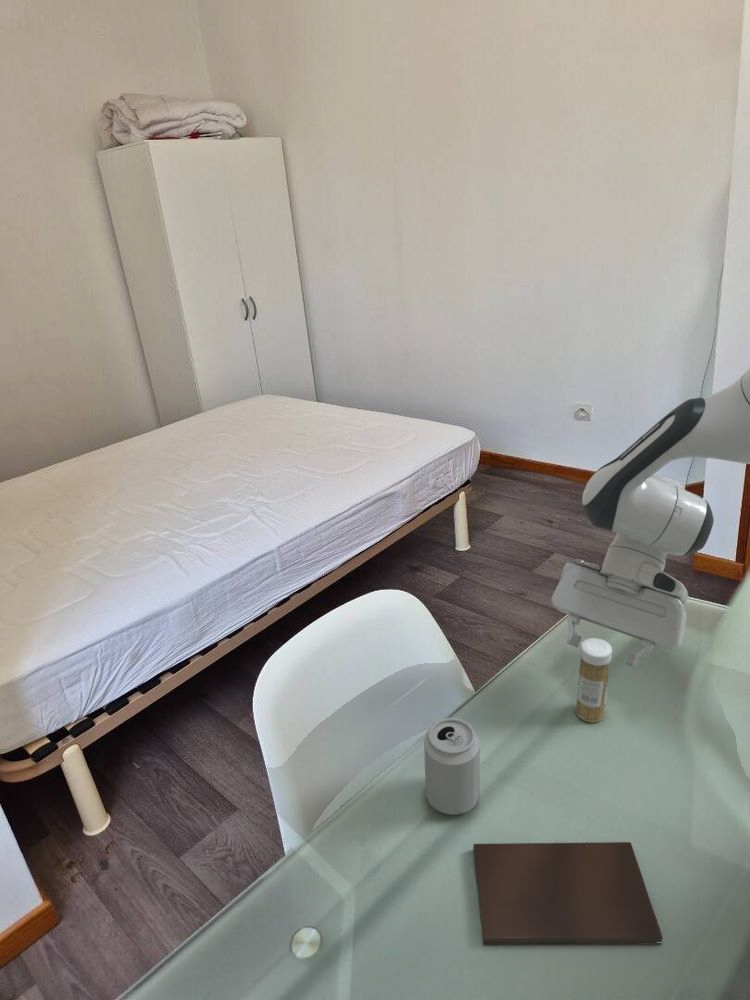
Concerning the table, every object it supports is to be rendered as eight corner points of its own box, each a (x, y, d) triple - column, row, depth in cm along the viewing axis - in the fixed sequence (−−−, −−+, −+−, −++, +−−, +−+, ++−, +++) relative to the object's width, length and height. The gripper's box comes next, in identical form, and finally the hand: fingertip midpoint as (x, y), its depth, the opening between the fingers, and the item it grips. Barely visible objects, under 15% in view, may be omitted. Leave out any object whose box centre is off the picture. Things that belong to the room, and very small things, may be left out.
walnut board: (629, 848, 88) (630, 841, 88) (661, 944, 77) (662, 937, 77) (473, 849, 89) (473, 843, 89) (483, 944, 79) (483, 938, 78)
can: (449, 766, 102) (448, 704, 96) (490, 794, 97) (491, 731, 91) (414, 797, 97) (411, 735, 92) (456, 829, 92) (455, 764, 87)
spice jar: (609, 712, 109) (618, 645, 103) (594, 728, 106) (602, 660, 100) (583, 699, 112) (590, 632, 106) (568, 714, 109) (575, 647, 103)
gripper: (563, 550, 113) (533, 629, 110) (694, 588, 101) (664, 677, 99) (572, 561, 118) (544, 636, 115) (698, 599, 106) (670, 684, 104)
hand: (600, 656), depth 107 cm, fingers open, 8 cm apart
